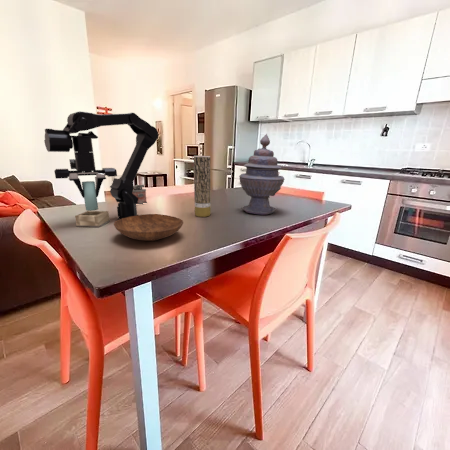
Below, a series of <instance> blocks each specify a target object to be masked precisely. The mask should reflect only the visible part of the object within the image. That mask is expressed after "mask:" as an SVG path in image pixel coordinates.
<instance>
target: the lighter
mask: <svg viewBox="0 0 450 450" xmlns="http://www.w3.org/2000/svg"><path fill="white" fill-rule="evenodd" d="M144 187H145V185H144V184H136V185H134V189H133V194H134V195H135V196H136V197H137V198H138V203H137V204H142V205H144V204H143V203H147V204H148V202H147V192H146V191H147V189H146V188H144Z"/></svg>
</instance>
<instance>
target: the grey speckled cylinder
mask: <svg viewBox="0 0 450 450" xmlns="http://www.w3.org/2000/svg"><path fill="white" fill-rule="evenodd" d="M193 187H194V188H193V189H194V190H193V193H194V215H195V217H199V218H205V217H209V216H210V215H211V197H212V196H211V194H212V193H211V192H212V191H211V155H193Z"/></svg>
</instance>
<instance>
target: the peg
mask: <svg viewBox="0 0 450 450" xmlns="http://www.w3.org/2000/svg"><path fill="white" fill-rule="evenodd" d="M81 186H82V189H83V193H84V198H83V199H84V207H85V210H86V211H99V205H98V197H97V196H96V182H95V181H94V180H93V181H90V180H87V181H81Z"/></svg>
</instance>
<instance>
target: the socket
mask: <svg viewBox="0 0 450 450" xmlns="http://www.w3.org/2000/svg"><path fill="white" fill-rule="evenodd" d="M109 213H110V212H109V210H93V211H87V210H86V211H84V212H82V213H79V214H77V215H75V217H74V218H75V223H76V227H77V228H100V227H102V226H103V225H104V226H105V225H106V224H108V223H109V222H110V220H111V219H110V215H109Z"/></svg>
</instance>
